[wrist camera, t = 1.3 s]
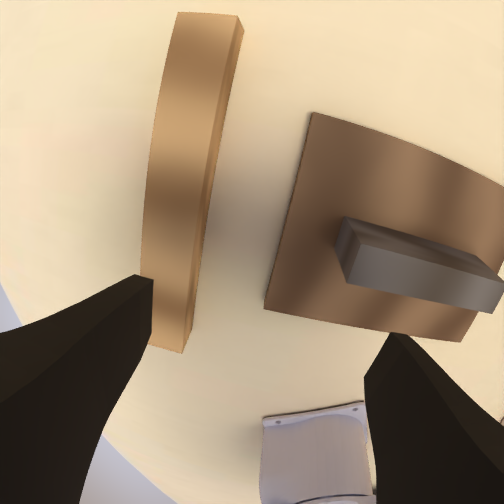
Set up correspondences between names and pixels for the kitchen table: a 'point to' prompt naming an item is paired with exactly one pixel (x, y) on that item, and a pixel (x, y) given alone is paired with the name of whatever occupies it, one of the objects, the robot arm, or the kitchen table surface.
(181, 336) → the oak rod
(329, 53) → the kitchen table surface
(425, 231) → the ridge stand
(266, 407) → the kitchen table surface
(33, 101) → the kitchen table surface
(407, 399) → the robot arm
